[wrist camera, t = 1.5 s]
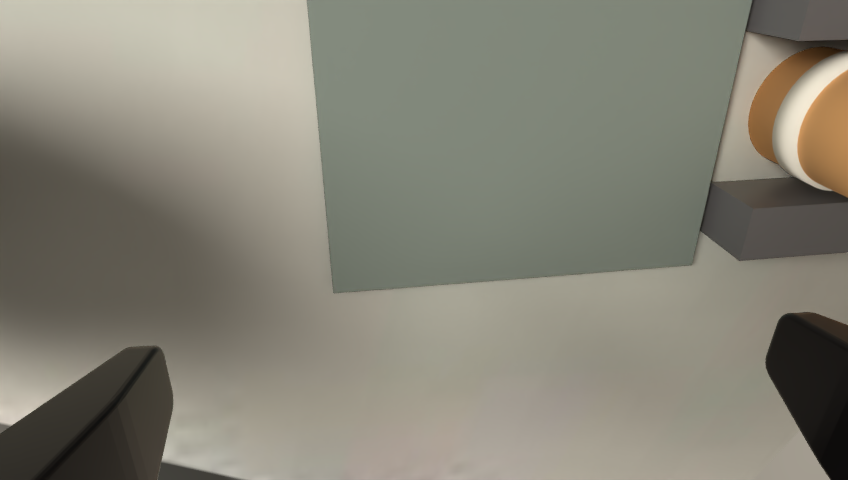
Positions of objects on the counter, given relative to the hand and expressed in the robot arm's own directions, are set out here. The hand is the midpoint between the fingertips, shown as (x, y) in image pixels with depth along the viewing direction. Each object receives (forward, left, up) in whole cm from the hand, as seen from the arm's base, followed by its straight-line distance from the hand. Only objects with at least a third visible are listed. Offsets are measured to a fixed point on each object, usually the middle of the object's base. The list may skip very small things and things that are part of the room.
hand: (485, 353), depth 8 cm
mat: (+4, +2, -12) cm, 13 cm away
